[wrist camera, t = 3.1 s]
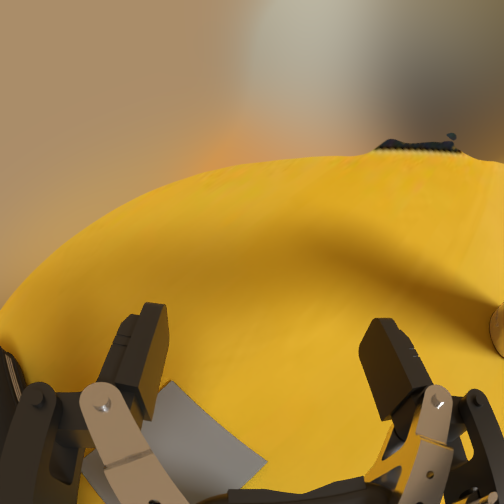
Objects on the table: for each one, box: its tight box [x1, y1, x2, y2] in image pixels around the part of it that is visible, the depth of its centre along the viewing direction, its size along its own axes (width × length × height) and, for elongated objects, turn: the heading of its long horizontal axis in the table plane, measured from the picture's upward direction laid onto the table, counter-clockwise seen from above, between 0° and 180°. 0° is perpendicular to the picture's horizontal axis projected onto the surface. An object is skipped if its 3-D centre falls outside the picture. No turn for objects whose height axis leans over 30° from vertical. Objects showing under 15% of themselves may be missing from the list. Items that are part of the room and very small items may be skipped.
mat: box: [81, 381, 268, 504], centre depth 20 cm, size 14×18×1 cm
